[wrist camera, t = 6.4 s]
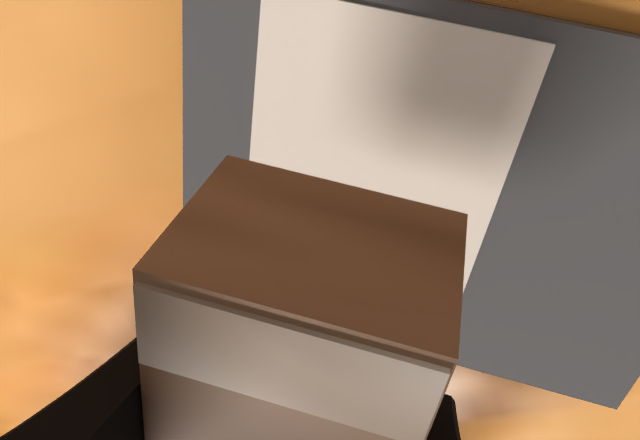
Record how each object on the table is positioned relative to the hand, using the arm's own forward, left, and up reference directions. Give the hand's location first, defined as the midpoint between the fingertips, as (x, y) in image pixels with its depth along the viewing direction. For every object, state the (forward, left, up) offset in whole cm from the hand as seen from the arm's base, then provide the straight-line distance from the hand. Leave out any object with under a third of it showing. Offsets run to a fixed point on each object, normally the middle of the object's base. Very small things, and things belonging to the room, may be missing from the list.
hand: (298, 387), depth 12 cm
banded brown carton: (0, 0, -2) cm, 2 cm away
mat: (-2, 0, -8) cm, 8 cm away
